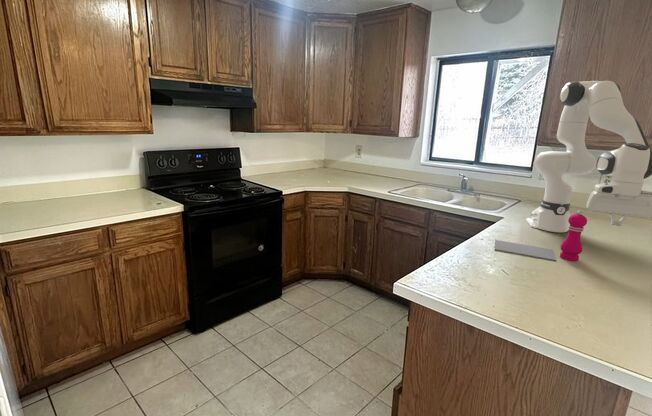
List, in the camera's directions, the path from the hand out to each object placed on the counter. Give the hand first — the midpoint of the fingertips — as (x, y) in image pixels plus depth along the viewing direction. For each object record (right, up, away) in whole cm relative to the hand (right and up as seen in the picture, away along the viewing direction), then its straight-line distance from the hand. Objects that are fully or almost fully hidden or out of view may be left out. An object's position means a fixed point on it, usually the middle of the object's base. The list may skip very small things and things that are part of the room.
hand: (615, 225), depth 131 cm
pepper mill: (-11, -14, +9) cm, 20 cm away
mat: (-25, -12, +16) cm, 32 cm away
